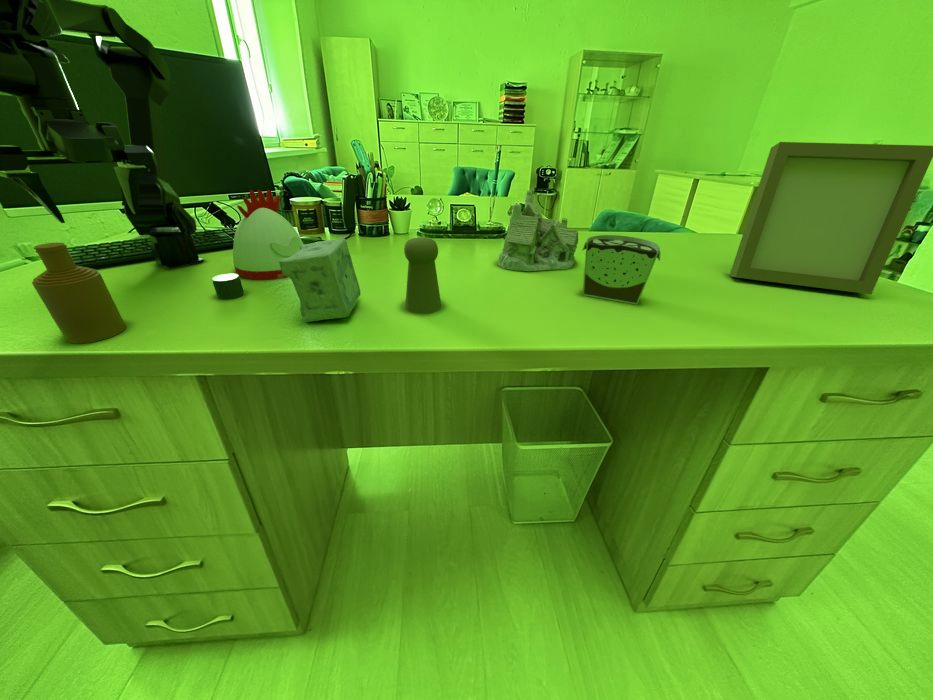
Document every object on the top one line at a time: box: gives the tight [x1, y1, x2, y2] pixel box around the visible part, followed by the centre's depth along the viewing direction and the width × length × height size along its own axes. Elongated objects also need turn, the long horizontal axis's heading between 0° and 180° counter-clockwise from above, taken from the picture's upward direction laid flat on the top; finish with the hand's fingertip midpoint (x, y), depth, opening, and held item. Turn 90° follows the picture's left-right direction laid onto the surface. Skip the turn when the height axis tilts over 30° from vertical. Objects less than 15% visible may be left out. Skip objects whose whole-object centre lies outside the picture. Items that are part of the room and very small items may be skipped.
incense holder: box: [279, 237, 361, 323], centre depth 56 cm, size 10×8×10 cm
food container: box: [582, 234, 662, 305], centre depth 65 cm, size 12×6×10 cm, turn 65°
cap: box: [211, 273, 245, 300], centre depth 62 cm, size 4×4×3 cm
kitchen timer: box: [232, 189, 304, 281], centre depth 72 cm, size 14×14×15 cm
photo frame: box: [729, 141, 933, 295], centre depth 72 cm, size 15×22×25 cm
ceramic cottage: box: [497, 190, 579, 272], centre depth 80 cm, size 16×16×15 cm
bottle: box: [31, 242, 127, 345], centre depth 48 cm, size 6×6×12 cm
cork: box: [403, 237, 443, 315], centre depth 58 cm, size 6×6×11 cm
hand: (101, 218), depth 58 cm, fingers open, 9 cm apart
